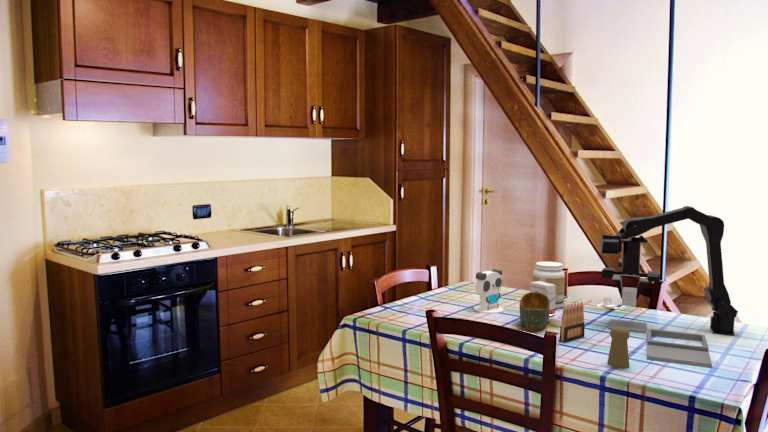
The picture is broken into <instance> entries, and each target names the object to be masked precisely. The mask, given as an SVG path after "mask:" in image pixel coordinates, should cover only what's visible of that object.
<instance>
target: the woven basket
mask: <svg viewBox="0 0 768 432" xmlns="http://www.w3.org/2000/svg"><path fill="white" fill-rule="evenodd" d="M549 308H550V302H549V298H548V297H547V296H546V295H544V294H542V293H539V292H537V291H536V292H530V291H529V292H527V293H525V294H524V295H522V296H521V298H520V300H519V317H520V318H519V319H520V321H521V325H522V327H523V328H524V329H525V330H528V331H531V332H539V330H540V331H542V330H544V329H545V328H546V327H547V323H549V322H548V321H549ZM543 328H544V329H543Z"/></svg>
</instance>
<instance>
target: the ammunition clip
mask: <svg viewBox="0 0 768 432" xmlns="http://www.w3.org/2000/svg"><path fill="white" fill-rule="evenodd" d="M584 308H585V307H584V302H583V301H580V302H577V304H576V302H574V303H571V304H567V305H563V309H562V316H561V325H560V327H559V328H560V329H559V343H563V344H566V343H568V342H572V341H576V340H580V339H584V338H585V323H586V322H585V318H584V317H585V313H584Z"/></svg>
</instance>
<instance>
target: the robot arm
mask: <svg viewBox="0 0 768 432" xmlns="http://www.w3.org/2000/svg"><path fill="white" fill-rule="evenodd" d="M685 220H690V221H692V222H693V223H695V224H697V225H699V228H700V231H701V234H702V237H703V239H704V241H705V246H706V259H707V268H708V280H709V281H708V282H709V283H708V286H707V287H703V293H704V297H703V299H704V300H705V301H706V303H707V304H708V305H709V306H710V307H711V310H712V315H710V321H709V322H710V323H709V324H710V326H709V328H710V330H711V331H712V333H714V334H724V335H733V336H734V335H735V318H736V317H737V315H738V312H739V311H738V310H737V309H736V308H735V307H734V306H733V305H732V303H731V301H732V300H731V298H730V294H729V292H728V289H727V287H726V285H725V280H724V268H723V266H724V265H723V255H722V244H721V243H722V241H723V237H724V231H725V222H724V220H723V219H721V218H720V217H718V216H716V215H715V216H714V215H711V214H706V213H704V212H701V211H700V210H697V209H695V208H694V207H693V206H689V205H684V206H683V207H680V208H677V209H673V210H669V211H665V212H663V213H662V212H661V213H657V214H654V215H651V216H637V217H636V216H635V217H629V218H626V219H625V220H624V221H623V223H622V227H621V228H620V230H619V231H618V232H617V233H616V234H615V235H614V234H607V233H606V234H603V233H602V234H601V238H600V242H599V253H600V255H619V254H620V253H621V252H622V256H621V257H622V258H618V263H617V266H618V269H621V270H619V271H618V270H615V268H614V267H603V268H602V270H601V275H600V276H601V277H600V278H601V279H610V280H611V281H612V282H614V283H615V285H616V287H617V291H618V293H619V296H620V299H621V300H622V290H623V282H622V281H623V279H622V278H631V279H632V278H633V279H639V281H638V286H637V295H636V301H638V299H639V297H640V295H641V292H642V290H643V288H644V287H645V285H649V282H650V283H651V282H652V283H660V282H661V281H660V280H661V273H660V272H659V271H653V270H647V272H640V271H641V251H642V249H641V246H642V244H643V243H645V244H647V243H648V240H647V239H645V237H644V235H643V234H645V233H647V232H649V231H651V230H652V229H655V228H658V227H661V226H665V225H670V224H674V223H676V222H680V221H685Z"/></svg>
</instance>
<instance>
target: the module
mask: <svg viewBox="0 0 768 432" xmlns="http://www.w3.org/2000/svg"><path fill="white" fill-rule="evenodd" d="M637 290H638V287H629V286H628V287H627V286H626V287H625V286H622V299H621V306H624V307H625V306H626V307H627V306H629V307H637V306H636V305H637V300H636V295H637Z"/></svg>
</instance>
